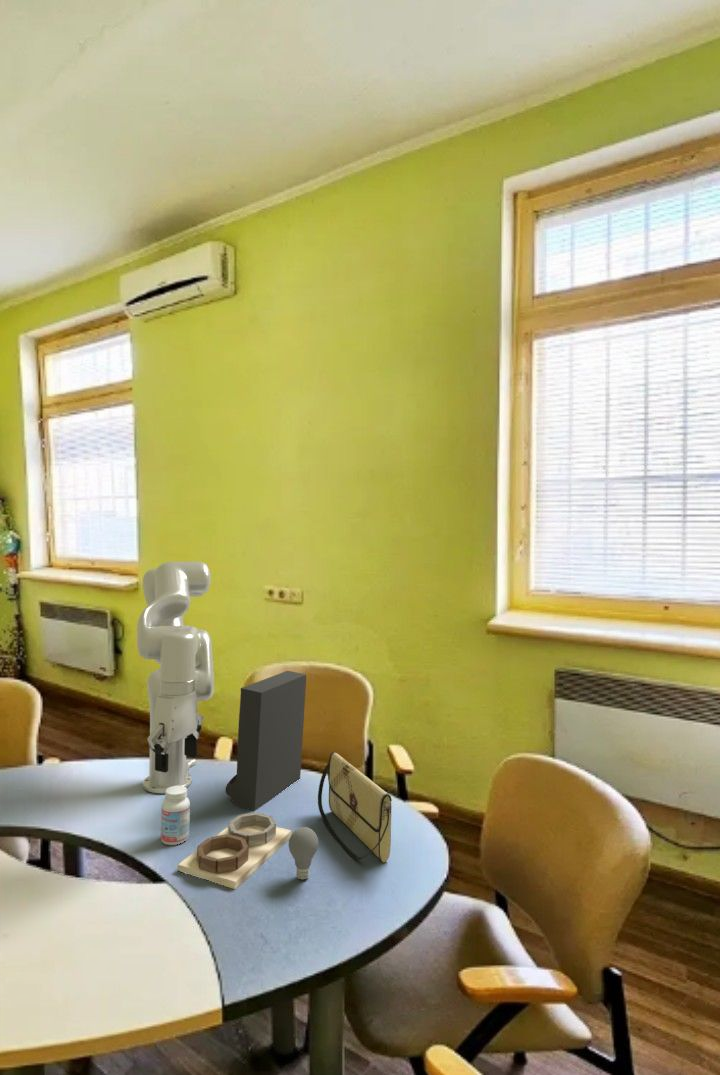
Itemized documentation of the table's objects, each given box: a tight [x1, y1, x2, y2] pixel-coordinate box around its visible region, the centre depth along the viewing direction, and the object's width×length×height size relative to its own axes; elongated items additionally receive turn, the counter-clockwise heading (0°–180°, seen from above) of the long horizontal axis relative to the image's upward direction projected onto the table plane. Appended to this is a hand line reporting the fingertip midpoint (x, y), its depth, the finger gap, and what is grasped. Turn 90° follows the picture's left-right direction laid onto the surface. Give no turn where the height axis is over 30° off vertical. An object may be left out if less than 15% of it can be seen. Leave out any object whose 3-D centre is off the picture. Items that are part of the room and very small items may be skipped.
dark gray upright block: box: [224, 670, 307, 812], centre depth 162 cm, size 21×11×30 cm, turn 154°
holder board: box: [177, 812, 292, 890], centre depth 131 cm, size 22×14×4 cm, turn 157°
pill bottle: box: [160, 786, 191, 846], centre depth 137 cm, size 6×6×11 cm
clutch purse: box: [317, 751, 392, 863], centre depth 139 cm, size 30×7×15 cm, turn 28°
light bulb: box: [288, 826, 319, 880], centre depth 123 cm, size 6×6×10 cm
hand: (176, 763), depth 136 cm, fingers open, 9 cm apart
